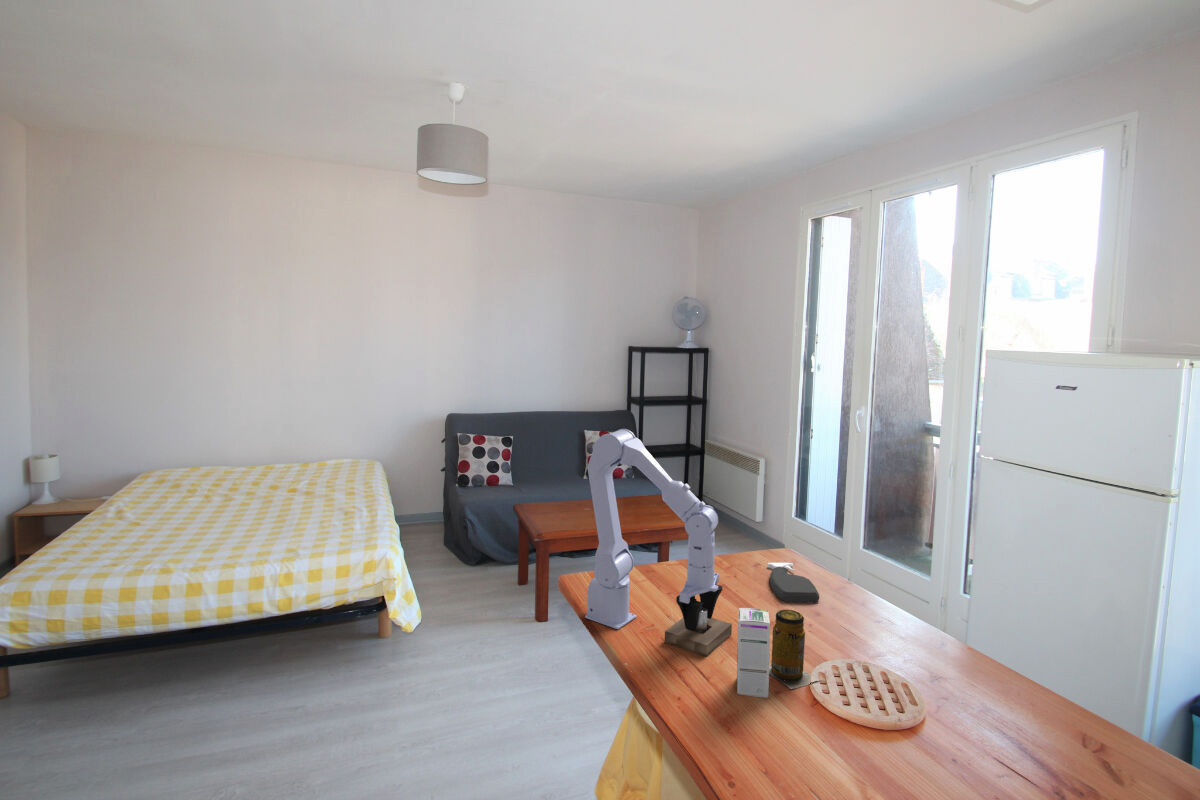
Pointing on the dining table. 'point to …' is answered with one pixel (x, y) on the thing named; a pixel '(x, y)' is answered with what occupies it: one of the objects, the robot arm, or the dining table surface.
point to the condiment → (789, 649)
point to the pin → (702, 621)
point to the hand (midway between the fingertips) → (698, 623)
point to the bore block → (699, 636)
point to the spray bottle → (791, 585)
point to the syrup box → (753, 652)
